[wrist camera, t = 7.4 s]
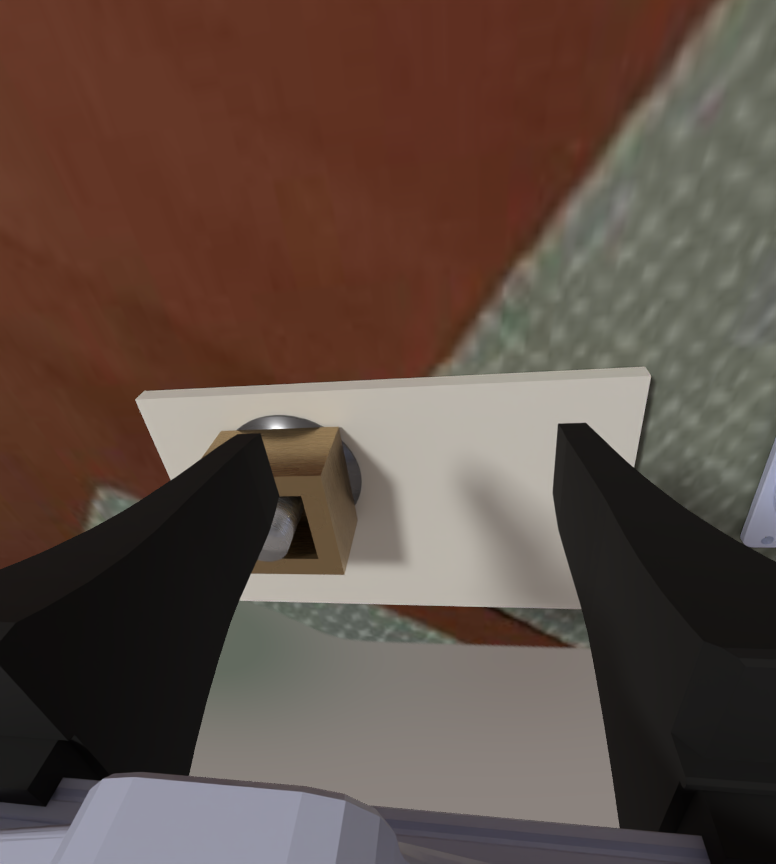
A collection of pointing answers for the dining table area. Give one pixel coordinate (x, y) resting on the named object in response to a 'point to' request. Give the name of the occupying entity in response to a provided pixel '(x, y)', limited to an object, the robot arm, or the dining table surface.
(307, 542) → the bronze collar
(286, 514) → the steel post
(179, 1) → the dining table surface
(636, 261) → the dining table surface
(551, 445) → the pale board
